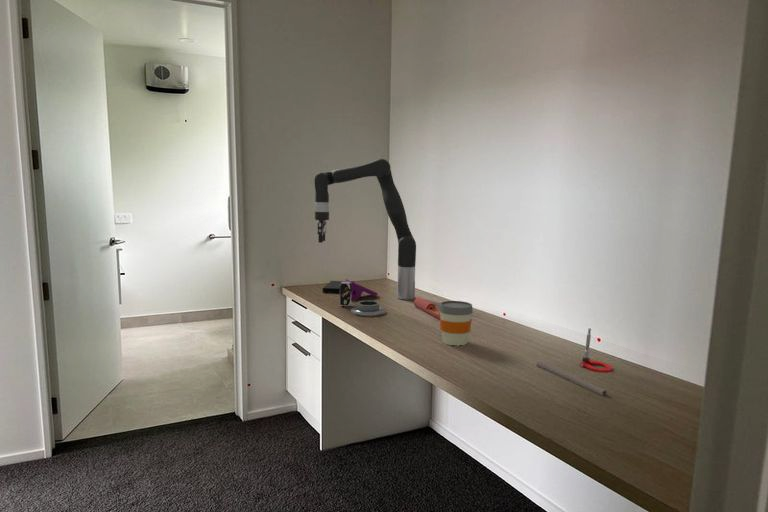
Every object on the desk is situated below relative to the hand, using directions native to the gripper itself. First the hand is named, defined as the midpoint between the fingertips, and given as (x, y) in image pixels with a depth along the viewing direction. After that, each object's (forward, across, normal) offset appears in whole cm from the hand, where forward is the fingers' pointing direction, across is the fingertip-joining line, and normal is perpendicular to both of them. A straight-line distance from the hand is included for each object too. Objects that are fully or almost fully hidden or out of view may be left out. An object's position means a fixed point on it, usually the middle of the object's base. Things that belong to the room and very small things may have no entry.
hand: (321, 241), depth 274 cm
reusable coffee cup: (+30, -78, -63) cm, 104 cm away
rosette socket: (+29, -34, -27) cm, 52 cm away
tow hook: (+30, -102, -108) cm, 151 cm away
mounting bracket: (+30, 0, -21) cm, 36 cm away
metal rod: (+30, -114, -95) cm, 151 cm away
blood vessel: (+30, -38, -59) cm, 76 cm away
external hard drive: (+30, +20, -7) cm, 37 cm away
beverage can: (+30, -22, -15) cm, 40 cm away
